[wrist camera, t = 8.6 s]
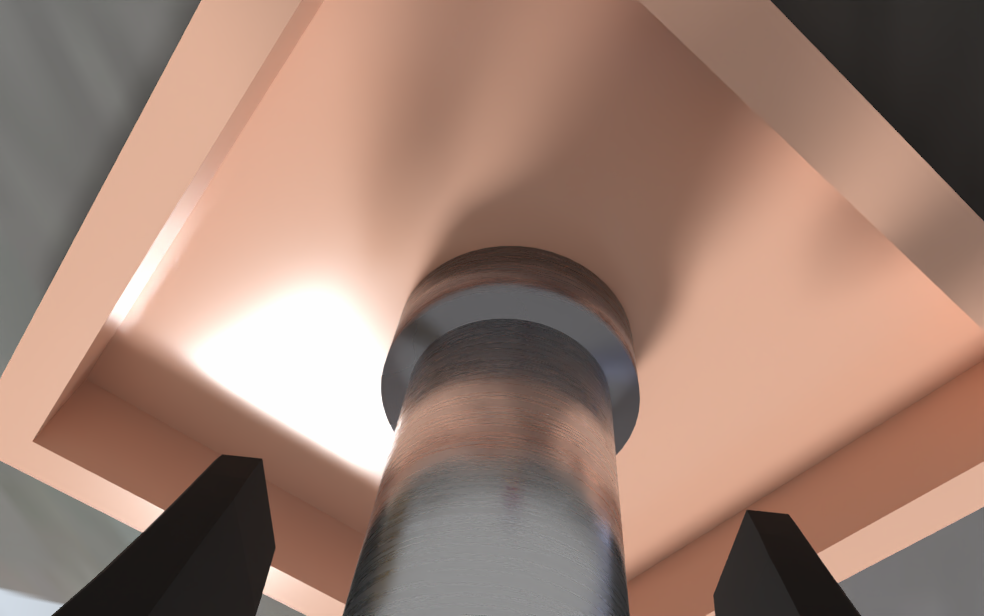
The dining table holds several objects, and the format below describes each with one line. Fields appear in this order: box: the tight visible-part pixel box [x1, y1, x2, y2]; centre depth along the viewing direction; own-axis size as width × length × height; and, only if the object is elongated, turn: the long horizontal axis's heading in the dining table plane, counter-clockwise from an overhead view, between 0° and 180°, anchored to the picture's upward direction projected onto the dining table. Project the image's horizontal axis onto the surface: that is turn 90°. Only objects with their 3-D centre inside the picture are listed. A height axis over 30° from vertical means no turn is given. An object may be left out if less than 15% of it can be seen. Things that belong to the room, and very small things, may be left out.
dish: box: [0, 0, 984, 616], centre depth 14 cm, size 15×15×2 cm
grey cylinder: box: [342, 246, 640, 616], centre depth 11 cm, size 5×5×8 cm
